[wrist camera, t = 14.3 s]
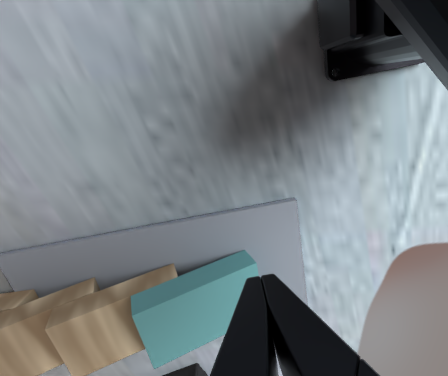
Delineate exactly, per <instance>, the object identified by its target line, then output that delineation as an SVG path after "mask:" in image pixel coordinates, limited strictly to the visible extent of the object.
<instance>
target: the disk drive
mask: <svg viewBox="0 0 448 376" xmlns="http://www.w3.org/2000/svg"><path fill="white" fill-rule="evenodd" d="M163 376H208V375H207V374H206V372H205V371H203V369H202V368H201V367H200V365H199V364H198V363H196V364H193V365H190V366H188V367H185V368H182V369H179V370H176V371H174V372H171V373H168V374H166V375H163Z"/></svg>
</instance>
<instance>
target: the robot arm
mask: <svg viewBox="0 0 448 376" xmlns="http://www.w3.org/2000/svg"><path fill="white" fill-rule="evenodd" d="M317 4H318V21H319V38H320V47H321V48H322V49H323V50H324V54H325V72H326V77H327V79H328V80H330V81H337V80H342V79H347V78H351V77H356V76H361V75H366V74H371V73H376V72H380V71H385V70H390V69H395V68H400V67H404V66H409V65H414V64H419V63H424V62H425V63H426V64H427V65H428V66H429V68H430V69H431V70H432V71H433V73H434V74H435V75H436V76H437V77H438V79H439V80H440V81H441V82H442V84H443V85H444V86H445V87H446V89H447V90H448V0H318V2H317ZM334 68H336V69H337V75H336V76H333V75H332V70H333V69H334ZM274 346H275V347H274ZM275 350H276V352H275ZM276 354H277V358H278V361H279V365H280V368H281V371H282V374H283V376H380V375H379V374H378V373H377V372H376V371H375V370H374V369H373V368H372V367H371V366H369V365H368V364H367V363H366V362H365V361H364V360H363V359H360V356H359V355H358V354H357V353H356V352H355V351H354V350H353V349H352V348H351V347H350V346H349V345H348V344H347V343H346V342H345V341H344V340H342V339H341V338H340V337H339V336H338V335H337V334H336V333H335V332H334V331H333V330H332V329H331V328H330V327H329V326H328V325H327V324H326V323H325V322H324V321H323V320H322V319H321V318H320V317H319V316H318V315H317V314H316V313H315V312H313V311H312V310H311V309H310V308H309V307H308V306H307V305H306V304H305V303H304V302H303V301H302V300H301V299H300V298H299V297H298V296H297V295H296V294H295V293H294V292H293V291H292V290H291V289H290V288H289V287H288V286H287V285H286V284H285V283H283V282H282V281H281V280H280V279H279V278H278V277H277V276H276V275H275V274H266V275H262V276H261V278H260V276H255V277H249V278H247V279H246V281H245V284H244V286H243V289H242V292H241V294H240V297H239V300H238V302H237V305H236V308H235V310H234V313H233V316H232V318H231V321H230V323H229V326H228V329H227V331H226V334H225V337H224V339H223V342H222V345H221V347H220V350H219V353H218V355H217V358H216V361H215V363H214V366H213V368H212V371H211V374H210V376H278V367H277V359H276Z"/></svg>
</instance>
